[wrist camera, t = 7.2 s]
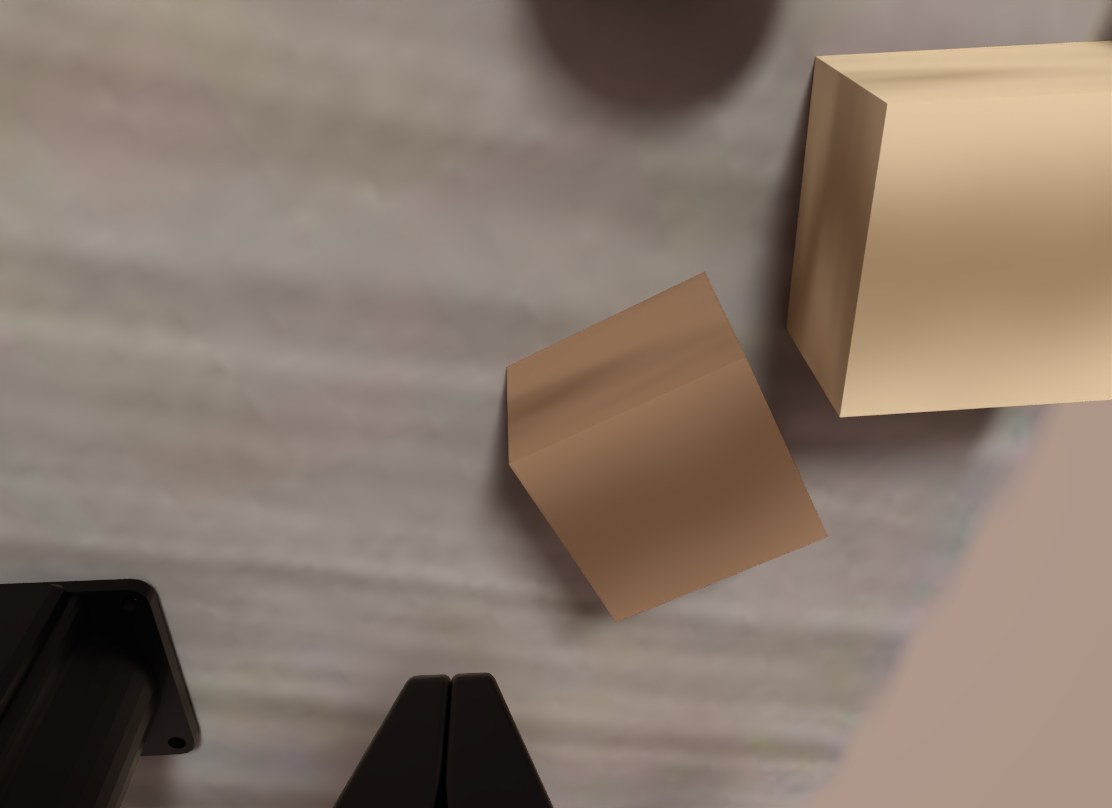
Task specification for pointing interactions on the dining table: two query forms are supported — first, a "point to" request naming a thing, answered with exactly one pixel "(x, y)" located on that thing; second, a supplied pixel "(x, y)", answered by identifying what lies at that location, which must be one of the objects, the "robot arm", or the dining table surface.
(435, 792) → the robot arm
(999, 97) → the maple block
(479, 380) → the dining table surface
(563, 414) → the walnut block
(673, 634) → the dining table surface
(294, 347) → the dining table surface
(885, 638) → the dining table surface
